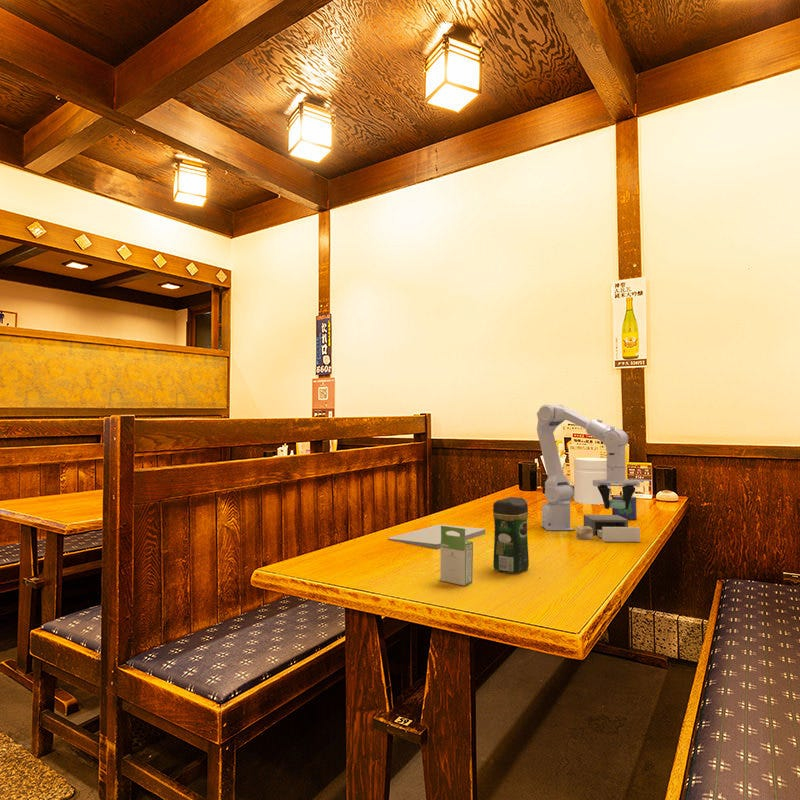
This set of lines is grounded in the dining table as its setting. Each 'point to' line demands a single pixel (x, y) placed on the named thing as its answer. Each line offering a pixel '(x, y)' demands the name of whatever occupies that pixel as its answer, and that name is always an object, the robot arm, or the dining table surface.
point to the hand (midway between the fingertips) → (616, 508)
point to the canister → (589, 479)
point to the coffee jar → (510, 535)
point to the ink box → (456, 557)
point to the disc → (617, 504)
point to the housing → (604, 521)
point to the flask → (626, 513)
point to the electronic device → (434, 536)
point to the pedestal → (584, 533)
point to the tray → (619, 534)
